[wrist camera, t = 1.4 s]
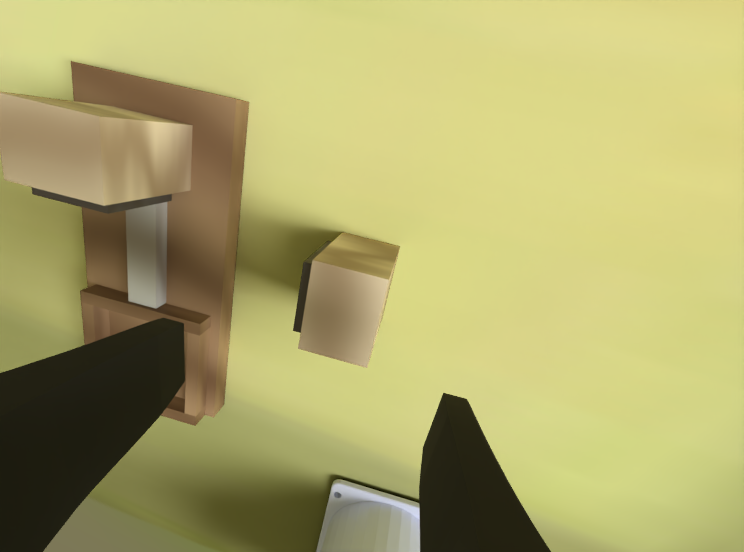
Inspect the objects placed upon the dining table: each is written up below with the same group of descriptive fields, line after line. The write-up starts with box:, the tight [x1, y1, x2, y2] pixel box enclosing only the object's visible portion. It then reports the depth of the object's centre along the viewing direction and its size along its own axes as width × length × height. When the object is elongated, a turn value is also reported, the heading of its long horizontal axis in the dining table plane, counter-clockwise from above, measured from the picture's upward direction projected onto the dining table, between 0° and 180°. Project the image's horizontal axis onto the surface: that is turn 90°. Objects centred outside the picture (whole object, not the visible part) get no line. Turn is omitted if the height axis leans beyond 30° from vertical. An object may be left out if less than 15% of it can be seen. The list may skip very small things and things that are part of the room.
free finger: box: [293, 232, 400, 368], centre depth 17 cm, size 4×4×5 cm
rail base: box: [0, 61, 249, 426], centre depth 18 cm, size 18×8×6 cm, turn 168°
